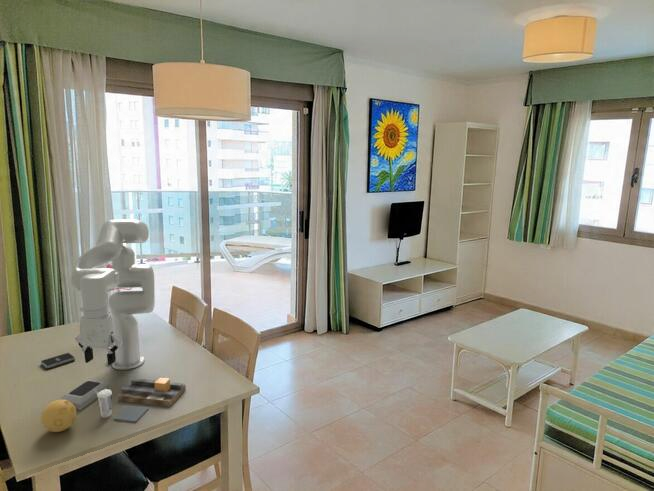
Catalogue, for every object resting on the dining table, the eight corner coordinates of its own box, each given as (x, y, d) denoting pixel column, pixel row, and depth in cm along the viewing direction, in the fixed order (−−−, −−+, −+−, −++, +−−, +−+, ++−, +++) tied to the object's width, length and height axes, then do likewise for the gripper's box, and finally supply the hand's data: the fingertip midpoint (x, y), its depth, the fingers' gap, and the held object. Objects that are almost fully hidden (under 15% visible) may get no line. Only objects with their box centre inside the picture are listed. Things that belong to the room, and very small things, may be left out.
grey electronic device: (56, 397, 158) (88, 377, 172) (57, 406, 159) (89, 385, 173) (79, 401, 156) (109, 380, 170) (80, 411, 156) (110, 389, 171)
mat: (113, 420, 151) (113, 418, 151) (127, 406, 159) (127, 405, 159) (135, 422, 150) (135, 421, 150) (148, 409, 158) (148, 407, 158)
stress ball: (38, 437, 143) (42, 431, 136) (39, 406, 147) (42, 398, 140) (74, 431, 149) (79, 424, 142) (73, 401, 153) (78, 393, 146)
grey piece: (118, 400, 163) (117, 391, 162) (137, 384, 174) (136, 375, 173) (170, 406, 160) (169, 397, 159) (185, 389, 171) (185, 380, 171)
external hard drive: (40, 365, 188) (40, 361, 187) (69, 356, 196) (68, 352, 196) (47, 370, 183) (46, 366, 183) (76, 361, 192) (75, 357, 191)
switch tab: (155, 392, 164) (154, 382, 163) (160, 387, 168) (159, 377, 167) (165, 393, 164) (164, 383, 163) (170, 388, 167) (169, 378, 167)
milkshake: (99, 411, 156) (97, 385, 154) (115, 411, 156) (113, 384, 154) (94, 419, 151) (91, 392, 149) (110, 418, 152) (108, 392, 150)
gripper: (63, 313, 143) (68, 364, 147) (113, 318, 141) (117, 369, 145) (79, 306, 151) (84, 354, 154) (127, 309, 148) (131, 359, 152)
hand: (100, 361), depth 150 cm, fingers open, 7 cm apart
